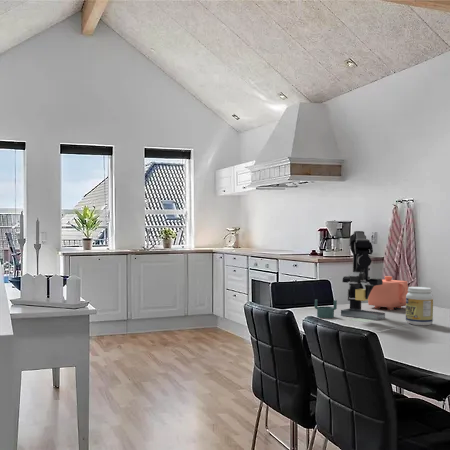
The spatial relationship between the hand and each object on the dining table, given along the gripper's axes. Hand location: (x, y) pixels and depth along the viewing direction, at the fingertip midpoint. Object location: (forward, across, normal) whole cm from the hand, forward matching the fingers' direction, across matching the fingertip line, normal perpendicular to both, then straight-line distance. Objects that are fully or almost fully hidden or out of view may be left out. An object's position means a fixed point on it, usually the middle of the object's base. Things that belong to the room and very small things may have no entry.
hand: (361, 298), depth 287 cm
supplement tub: (+11, +22, +14) cm, 29 cm away
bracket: (+11, -18, -4) cm, 21 cm away
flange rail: (+11, -4, +10) cm, 15 cm away
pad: (+11, 0, 0) cm, 11 cm away
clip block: (+1, 0, 0) cm, 1 cm away
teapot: (+11, -14, +56) cm, 59 cm away
